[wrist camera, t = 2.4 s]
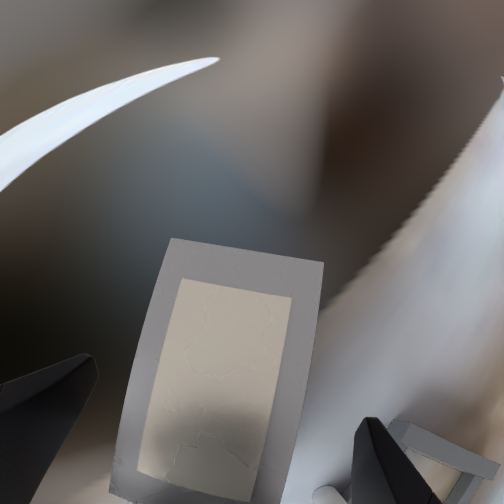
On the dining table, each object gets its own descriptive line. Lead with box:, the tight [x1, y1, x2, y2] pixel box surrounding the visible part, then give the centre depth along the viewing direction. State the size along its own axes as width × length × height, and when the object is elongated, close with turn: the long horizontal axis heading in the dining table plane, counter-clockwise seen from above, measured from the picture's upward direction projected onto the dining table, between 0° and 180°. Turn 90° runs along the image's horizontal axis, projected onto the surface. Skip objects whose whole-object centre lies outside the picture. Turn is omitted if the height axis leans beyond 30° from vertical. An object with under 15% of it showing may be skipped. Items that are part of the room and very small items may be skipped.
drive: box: [109, 238, 324, 504], centre depth 11 cm, size 8×4×10 cm, turn 169°
